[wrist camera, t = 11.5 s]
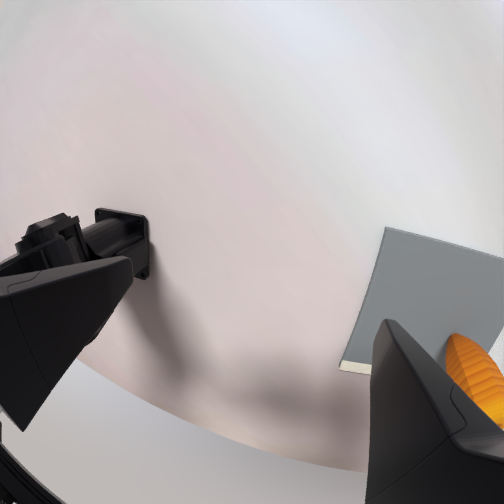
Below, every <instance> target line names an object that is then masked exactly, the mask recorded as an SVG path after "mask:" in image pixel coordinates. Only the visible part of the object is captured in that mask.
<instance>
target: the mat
mask: <svg viewBox="0 0 504 504" xmlns="http://www.w3.org/2000/svg"><path fill="white" fill-rule="evenodd" d="M385 318H387V319H392V320H396V321H397V322H398V323H399V324H400V325H401V326H402V327H403V328H404V329H405V330H406V331H407V332H408V333H409V334H410V335H411V336H412V337H413V338H414V339H415V340H416V341H417V342H418V343H419V344H420V345H421V346H422V347H423V348H424V349H425V351H426V352H427V353H428V354H429V355H430V356H431V357H432V358H433V359H434V360H435V361H436V362H437V363H438V364H439V365H440V366H441V367H442V368H443V369H444V370H445V372H446V348H447V344H448V340H449V337H450V336H451V335H452V334H454V333H458V334H460V335H463V336H465V337H467V338H470V339H471V340H473V341H474V342H476V343H477V344H479V345H480V346H481V347H482V348H483V349H484V350H485V351H486V352H487V353H488V352H489V351H490V349H491V348H492V346H493V344H494V342H495V341H496V339H497V337H498V336H499V334H500V332H501V330H502V328H503V326H504V259H503V258H500V257H496V256H493V255H490V254H487V253H483V252H480V251H477V250H473V249H470V248H466V247H463V246H459V245H456V244H452V243H448V242H445V241H441V240H437V239H433V238H430V237H426V236H422V235H418V234H414V233H410V232H406V231H402V230H398V229H394V228H389V227H385V231H384V235H383V239H382V242H381V246H380V250H379V253H378V257H377V260H376V263H375V267H374V270H373V273H372V277H371V280H370V283H369V286H368V289H367V292H366V295H365V298H364V301H363V304H362V307H361V310H360V312H359V315H358V318H357V321H356V323H355V326H354V329H353V331H352V334H351V337H350V339H349V342H348V344H347V347H346V349H345V352H344V354H343V356H342V359H341V361H340V364H339V370H344V371H350V372H357V373H363V374H370V375H371V367H372V353H373V342H374V338H375V336H376V334H377V332H378V329H379V327H380V325H381V322H382V321H383V319H385ZM446 373H447V372H446Z"/></svg>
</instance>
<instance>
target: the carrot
mask: <svg viewBox="0 0 504 504" xmlns="http://www.w3.org/2000/svg"><path fill="white" fill-rule="evenodd" d="M446 372H447V374H448V375H449V376H450V377H451V378H452V379H453V380H454V382H456V383H457V384H458V386H459V387H460V388H461V389H462V390H463V391H464V392H465V393H466V394H467V395H468V396H469V397H470V398H471V399H472V400H473V401H474V402H475V403H476V404H477V405H478V406H479V407H480V408H481V409H482V410H483V411H484V412H485V413H486V414H487V415H488V416H489V417H490V418H491V419H492V420H493V421H494V422H495V423H496V424H497V425H498V426H499V427H500V428H501V429H503V428H504V377H503V375H502V373H501V372H500V370H499V368H498V366H497V365H496V363H495V362H494V361H493V359H492V358H491V357H490V356H489V355H488V353H487V352H486V351H485V350H484V349H483V348H482V347H481V346H480V345H479V344H477V343H476V342H474V341H473V340H471V339H470V338H467V337H465V336H463V335H460V334H458V333H454V334H452V335H451V336H450V337H449V340H448V344H447V348H446Z"/></svg>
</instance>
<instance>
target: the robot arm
mask: <svg viewBox="0 0 504 504" xmlns="http://www.w3.org/2000/svg"><path fill="white" fill-rule="evenodd" d="M99 213H100V214H99ZM140 219H141V220H142V223H141V221H140ZM79 222H80V221H79V218H78V216H75V217H73V218H71V216H69V217H68V216H67V215H66V214H64V213H61V214H58V215H56V216H53V217H51V218H48V219H45V220H43V221H40V222H37V223H34V224H32V225H30V226H28V229H27V231H26V234H25V236H23V237H21V238H22V241H20V242H18V243H16V244H15V246H16V249H17V253H16V254H14V255H12V256H10V257H8V258H7V259H5V260H3V261H2V262H1V263H0V413H1V412H2V411H3V412H4V413H5V414H6V415H7V417H8V418H9V419H10V420H11V421H12V422H13V423H14V424H15V425H16V426H17V427H18V428H19V429H20V430H21V431H22V432H24V430H25V429H26V428H27V426H28V425H29V423H30V422H31V420H32V419H33V417H34V416H35V414H36V413H37V411H38V410H39V408H40V407H41V406H42V404H43V403H44V401H45V400H46V398H47V397H48V395H49V394H50V393H51V390H52V389H53V388H54V387H55V385H56V384H57V383H58V381H59V380H60V378H61V377H62V376H63V374H64V373H65V372H66V370H67V369H68V368H69V366H70V365H71V364H72V362H73V361H74V360H75V359H76V357H77V356H78V355H79V353H80V352H81V351H82V349H83V348H84V347H85V346H87V345H88V344H89V343H91V342H92V341H93V340H94V339H95V338H96V337H97V336H98V334H99V333H100V331H101V330H102V328H103V327H104V325H105V324H106V322H107V321H108V319H109V318H110V316H111V315H112V313H113V312H114V309H115V308H116V306H117V305H118V303H119V302H120V300H121V299H122V297H123V296H124V295H125V293H126V292H127V290H128V289H129V287H130V286H131V284H132V282H133V277H136V278H139V279H143V280H145V279H147V278H148V277H149V268H148V264H149V261H148V241H147V221H146V218H145V216H143V215H139V214H133V213H128V212H122V211H116V210H110V209H105V208H98V209H96V210H95V224H93V225H90V226H88V227H86V228H84V229H82V230H81V227H80V224H79ZM143 273H144V275H143ZM1 428H2V423H1V422H0V504H12V503H13V502H15V503H16V504H66V503H65V502H64V501H62V500H61V499H60V498H59V497H57V496H56V495H55V494H54V493H52V492H51V491H50V490H49V489H48V488H47V487H45V486H44V485H43V484H42V483H41V482H40V481H39V480H37V479H36V478H35V477H34V476H33V475H32V474H31V473H30V472H29V471H28V470H27V469H26V468H25V467H24V466H23V465H22V464H21V463H20V462H19V461H18V460H17V459H16V458H15V457H14V456H13V455H12V454H11V453H10V452H9V451H8V450H7V449H6V447H5V446H4V445H3V444H2V442H1V441H2V440H1ZM365 504H504V431H503V430H502V429H501V428H500V427H499V426H498V425H497V424H496V423H495V422H494V421H493V420H492V419H491V418H490V417H489V416H488V415H487V414H486V413H485V412H484V411H483V410H482V409H481V408H480V407H479V406H478V405H477V404H476V403H475V402H474V401H473V400H472V399H471V398H470V397H469V396H468V395H467V394H466V393H465V392H464V391H463V390H462V389H461V388H460V387H459V386H458V384H457V383H456V382H454V380H453V379H452V378H451V377H450V376H449V375H448V374H447V373H446V372H445V370H444V369H443V368H442V367H441V366H440V365H439V364H438V363H437V362H436V361H435V360H434V359H433V358H432V357H431V356H430V355H429V354H428V353H427V352H426V351H425V349H424V348H423V347H422V346H421V345H420V344H419V343H418V342H417V341H416V340H415V339H414V338H413V337H412V336H411V335H410V334H409V333H408V332H407V331H406V330H405V329H404V328H403V327H402V326H401V325H400V324H399V323H398V322H397V321H396V320H392V319H387V318H385V319H383V321H382V322H381V325H380V327H379V329H378V332H377V334H376V336H375V338H374V342H373V353H372V367H371V379H370V447H369V464H368V477H367V488H366V498H365Z"/></svg>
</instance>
